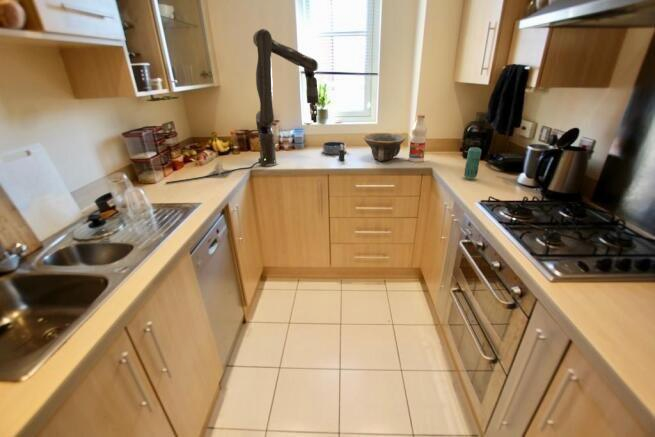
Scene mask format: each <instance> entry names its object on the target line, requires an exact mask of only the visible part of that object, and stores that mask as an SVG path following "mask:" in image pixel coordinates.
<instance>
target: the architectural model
mask: <svg viewBox="0 0 655 437" xmlns="http://www.w3.org/2000/svg"><path fill="white" fill-rule="evenodd" d="M213 170H214V171H212V172H211V173H210V174H209V175H213V174H219V175H215V176H210V177H209V178H227V176H228V175H230V174H231V173H232V172H233V171H231V172H227V173H223V174H220V173H222V172H226V171H230V170H231V169H224V166H223V161H222V159H220V160H217V161H216V164H215V166H214V167H213Z"/></svg>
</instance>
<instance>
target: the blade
mask: <svg viewBox="0 0 655 437" xmlns="http://www.w3.org/2000/svg"><path fill="white" fill-rule="evenodd" d="M340 147H341V149H339V154H338V160H339V162H344V161H345V152H344V149H343V145H342V144H340Z"/></svg>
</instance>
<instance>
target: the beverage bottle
mask: <svg viewBox="0 0 655 437" xmlns="http://www.w3.org/2000/svg"><path fill="white" fill-rule="evenodd" d="M481 143H482V142H481V141H480V140H473V141H472V142H471V146H472V147H469V149H468V151H467V156H466V161H465V167H464V171H463V176H464V177H465V178H469V179H475V178H477V176H478V172H479V165H480V161H481V156H482V152H483V151H482V149H481V148H480V147H481Z"/></svg>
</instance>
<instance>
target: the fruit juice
mask: <svg viewBox="0 0 655 437" xmlns="http://www.w3.org/2000/svg"><path fill="white" fill-rule="evenodd" d="M425 118H426V117H425V114H417V115H416V120H415V122H414V125H413V126H412V128H411V136H410V140H409V152H408V160H409V161H410V162H413V163H421V162H423V161H424V160H425V152H426V143H427V136H426V134H427V132H428V129H427V126H426V123H425Z"/></svg>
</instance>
